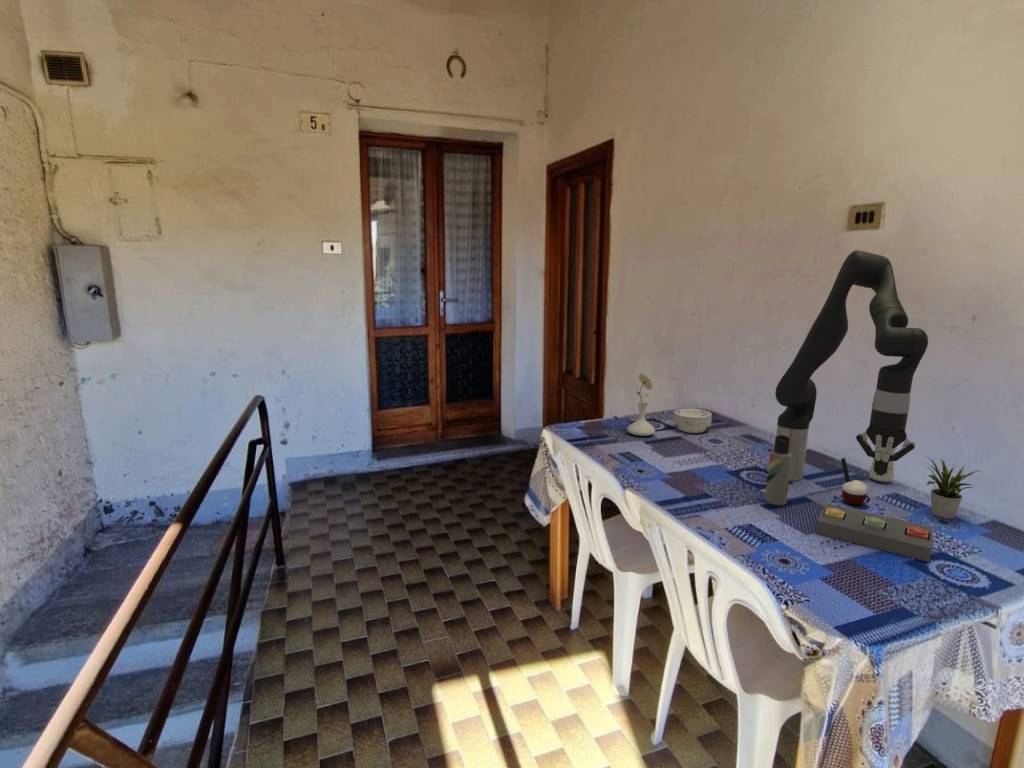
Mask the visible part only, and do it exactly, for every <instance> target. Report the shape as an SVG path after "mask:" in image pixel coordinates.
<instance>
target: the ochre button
mask: <svg viewBox="0 0 1024 768" xmlns="http://www.w3.org/2000/svg"><path fill="white" fill-rule="evenodd" d="M824 516H828V517H832V518H836V519H840V520H844V516H845V512H843V511H841V510H840V509H837V508H827V509H826V511H825V514H824Z"/></svg>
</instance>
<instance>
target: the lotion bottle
mask: <svg viewBox="0 0 1024 768" xmlns="http://www.w3.org/2000/svg"><path fill="white" fill-rule="evenodd" d="M773 445H774V446H773V448H774V450H773V449H772V450H771V451H770V452H769V461H768V462H769V463H768V471H767V479H766V480H767V481H766V489H765V490H766V491H765V502H766V503H768V504H770V505H772V506H773V505H774V506H779V507H780V506H785V505H786V504H787V501H788V492H789V484H790V480H789V477H790V468H791V459H792V454H791V453H789V445H790V438H788V437H786V436H783V435H779V436H777V437H776V436H775V438H774V444H773Z"/></svg>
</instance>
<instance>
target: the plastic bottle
mask: <svg viewBox="0 0 1024 768" xmlns="http://www.w3.org/2000/svg"><path fill="white" fill-rule="evenodd" d="M885 449H886V448H884V447H882V458H881V459H883V457H884V453H885ZM896 449H897V447H896V448H894V449H892V450H891V454H890V455H894V454H895V453H896ZM873 451H874V452H875V448H874V449H873ZM874 463H875V459H874V458H872V463H871V466H870V468H869V471H868V473H869V477H870V479H872V480H873V481H875V482H879V483H890V482H892V481H893V480H894V477H895V469H894V464H895V461H890V462H889V463H888V469H887V473H886V474H883V476H881V475H880V474H879V475H876V472H874Z"/></svg>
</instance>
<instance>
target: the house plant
mask: <svg viewBox="0 0 1024 768" xmlns="http://www.w3.org/2000/svg"><path fill="white" fill-rule="evenodd" d="M924 458H927V459H928V460H930V461H931V462H932V464H933V465H931V464H928V463H927V465H929V466H930V467H931V468H933V470H934V471H935V472H934V471H933V470H932V469H931V468H930V467H928V469H929V470H930V471H931V472H932V474H929V475H928V477H929V478H930V479H931V480H933V481H931V480H928V481H927V482H926V484H925V486H927V485H932V486H934V487H935V488H934V489H933V488H932V489H930V507H931V514H932V513H933V514H932V515H934V514H935V515H934V516H936V515H937V516H936V517H939V516H940V517H939V518H942V517H944V519H955V517H956V514H957V511H958V509H959V507H960V504H961V501H962V499H963V495H962V494H960V493H962V491H963V490H966V489H973V487H974V485H973V484H970V483H967V482H966V483H963V482H962V481H963V480H964V479H967V477H969V476H971V475H973V474H974V473H977V472H980V470H974V471H972V472H969V473H967V474H965V473H963V471H964V469H965V465H963V466H962V467H961V468H960V470H959V471H958V473H957V474H956V475H954V476H951V475H952V473H953V470H954V469H955V467H953V466H954V465H955V464H956V462H957V461H959V460H958V459H957V460H956V462H954V463H953V464H952V467H950V468H951V469H950V471H949V470H948V467H947V466H946V462H945V461H944V459H942V458H940V459H939V460H940V462H941V465H942V471H941V472H940V470H939V469H938V466H937V464H936V463H935V461H934V460H933V459H931V458H930V457H928V456H925V455H924ZM923 464H925V465H926V463H925V462H923ZM925 465H924V467H926V468H927V466H925ZM935 473H936V474H937V475H936V474H935ZM962 473H963V474H962ZM937 476H938V477H939V478H938V477H937ZM920 478H922V479H923V476H922V477H921V476H920ZM924 479H926V478H925V477H924ZM935 484H936V485H937V487H936V485H935ZM962 486H965V487H963V488H961V487H962ZM972 486H973V487H972Z"/></svg>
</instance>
